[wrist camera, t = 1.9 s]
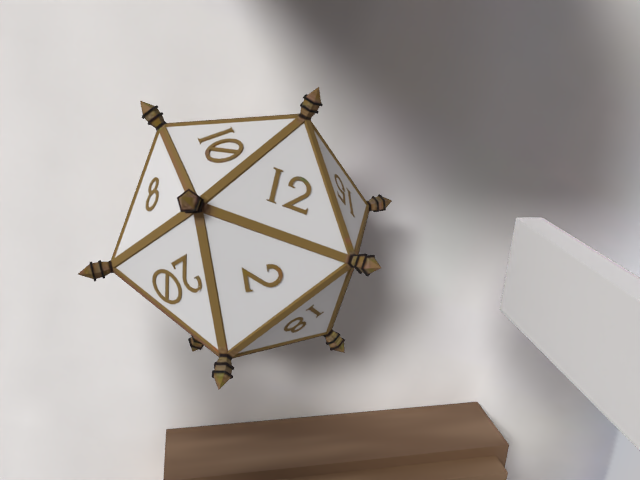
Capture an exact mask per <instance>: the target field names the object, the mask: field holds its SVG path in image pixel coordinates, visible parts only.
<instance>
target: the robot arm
mask: <svg viewBox="0 0 640 480" xmlns="http://www.w3.org/2000/svg"><path fill="white" fill-rule="evenodd" d="M500 311H501V312H502V313H503V314H504V315H505V316H506V317H507V318H508V319H509V320H510V321H511V322H512V323H513V324H514V325H515V326H516V327H517V328H518V329H519V330H520V331H521V332H522V333H523V334H524V335H525V336H526V337H527V338H528V339H529V340H530V341H531V342H532V343H533V344H534V345H535V346H536V347H537V348H538V349H539V350H540V351H541V352H542V353H543V354H544V355H545V356H546V357H547V358H548V359H549V360H550V361H551V362H552V363H553V364H554V365H555V366H556V367H557V368H558V369H559V370H560V371H561V372H562V373H563V374H564V375H565V376H566V377H567V378H568V379H569V380H570V381H571V382H572V383H573V384H574V385H575V386H576V387H577V388H578V389H579V390H580V391H581V392H582V393H583V394H584V395H585V396H586V397H587V398H588V399H589V400H590V401H591V402H592V403H593V404H594V405H595V406H596V407H597V408H598V409H599V410H600V411H601V412H602V413H603V414H604V415H605V416H606V417H607V418H608V419H609V420H610V421H611V422H612V423H613V424H614V426H615V427H616V428H617V429H618V430H619V431H620V432H621V433H622V434H623V435H625V437H626V438H627V439H628V440H629V441H631V443H632V444H633V445H634V446H635V447H636V448H637V449H638V450H639V451H640V278H639V277H638V276H636V275H634V274H633V273H631V272H630V271H628V270H626V269H625V268H623V267H622V266H620V265H618V264H617V263H615V262H613V261H612V260H610V259H609V258H607V257H605V256H604V255H602V254H601V253H599V252H597V251H596V250H594V249H592V248H591V247H589V246H588V245H586V244H584V243H583V242H581V241H580V240H578V239H576V238H575V237H573V236H571V235H570V234H568V233H567V232H565V231H563V230H562V229H560V228H559V227H557V226H555V225H554V224H552V223H550V222H549V221H547V220H546V219H544V218H542V217H528V218H516V220H515V226H514V231H513V237H512V243H511V248H510V254H509V259H508V265H507V271H506V276H505V282H504V287H503V293H502V299H501V304H500Z"/></svg>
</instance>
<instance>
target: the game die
mask: <svg viewBox="0 0 640 480" xmlns="http://www.w3.org/2000/svg"><path fill="white" fill-rule="evenodd" d="M303 98H304V102H302V103H301V105H300V106H301V113H300V114H290V115H276V116H262V117H248V118H234V119H220V120H206V121H192V122H177V123H166V122H165V121H164V119H163V116H162V115H163V113H160V112H159V110H158V109H157V108H158V106H153V105H150V104H148V103H145V102H142V101H140V102H141V107H142V113H143V115H142V118H143V119H144V118H145V119H146V120H147V121H148V125H150V124H151V125H152V126H153V127H155V128H156V130H157V132H156V135H155V138H154V140H153V143H152V146H151V149H150V152H149V155H148V157H147V160H146V163H145V166H144V169H143V171H142V174H141V177H140V180H139V183H138V186H137V188H136V191H135V194H134V197H133V200H132V202H131V205H130V208H129V211H128V214H127V217H126V219H125V222H124V225H123V228H122V231H121V233H120V236H119V239H118V242H117V245H116V248H115V250H114V253H113V256H112V259H111V261H109V262H101V260H100V261H98V262H97V263H92V262H90V264H89V265H88V266H87V267H86V268H85V269H83V270H82V271H81V272H80V273H79V275H82V276H85V277H88V278H92V279H94V281H96V279H97V278H100V277H103V278H105V276H106V275H108V274H109V273H115V274H116V275H117V276H119V277H120V278H121V279H122V280H124V281H125V282H126V283H127V284H129V285H130V286H131V287H132V288H134V289H135V290H136V291H137V292H139V293H140V294H141V295H142V296H143V297H145V298H146V299H147V300H148V301H150V302H151V303H152V304H153V305H155V306H156V307H157V308H158V309H160V310H161V311H162V312H163V313H165V314H166V315H167V316H168V317H170V318H171V319H172V320H173V321H175V322H176V323H177V324H178V325H180V326H181V327H182V328H183V329H185V330H186V331H187V332H188V333H190V334H191V336H192V337H191V338H189V339H188V340H189V343H190V346H191V348H192V352H193V351H196V350H198V349H200V350H201V349H202V347H203V346H204V345H205V346H206V347H207V348H208V349H210V350H211V351H212V352H213V353H214V354H216V355H217V356H218V357H219V359H218V361H217V362H215V364H214V369H215V370H213V371H212V377H213V378H214V379H215V381H216V384H217V387H218V389H220V388H221V387H222V386H223V385H224V384H225V383H226V382H227V381H228V380H229V379H231V378H233V375H231V373H232V370H233V369H234V367H233V366H232V363H231V360H232V358H236V357H240V356H244V355H248V354H252V353H256V352H260V351H264V350H268V349H272V348H276V347H279V346H283V345H287V344H291V343H295V342H299V341H303V340H307V339H311V338H315V337H319V336H324V337H325V338H326V341H327V342H326V344H327V345H329V346H330V350H336V351H340V352H344V341H345V339H343V338H341V337H340V334H339V333H337V332H334V331H333V330H332V328H333V325H334V322H335V320H336V317H337V314H338V311H339V309H340V306H341V303H342V300H343V298H344V295H345V292H346V289H347V287H348V284H349V281H350V278H351V276H352V273H353V270H354V268H355V269H356V270H357V271H358V272H359V273H360V274H361V273H362V272H363V273H365V275H366V276H369V275H370V273H372V272H374V271H376V270H378V269H380V268H381V267H380V265H379V264H378V263H377V261H376V260H375V255H368V256H367V254H359V250H360V246H361V242H362V238H363V234H364V230H365V226H366V222H367V218H368V214H369V211H373V212H378V211H383V210H386V209H385V208H386V207H387V206H388V205H389V204H390V202H391V200H389V199H386V198H384V197H382V196H381V195H380V194H379V195H378V197H374V196H373V197H372V199H370V200H369V201H366V200H365V199H364V197H363V196H362V194H361V193H360V192H359V190H358V189H357V187H356V186H355V184H354V183H353V181H352V180H351V178H350V177H349V176H348V174H347V173H346V171H345V170H344V168H343V167H342V165H341V164H340V162H339V161H338V160H337V158H336V157H335V155H334V154H333V152H332V151H331V149H330V148H329V146H328V145H327V144H326V142H325V141H324V139H323V138H322V136H321V135H320V133H319V132H318V130H317V129H316V128H315V126H314V125H313V123H312V122H311V117H312V116H313V115H314V114H315V113H317V114H318V111H317V110H318V108H319V106H322V105H323V104H322V103H321V100H320V92H319V87H318V88H317V89H315V90H314V91H312V92H311V93H310V94H308V95H307V94H306V95H305V96H304V97H303ZM344 353H345V352H344Z"/></svg>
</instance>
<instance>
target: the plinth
mask: <svg viewBox="0 0 640 480" xmlns="http://www.w3.org/2000/svg"><path fill="white" fill-rule="evenodd" d="M508 447H509V444H508V443H507V442H506V440H505V439H504V437H503V436H502V435H501V433H500V432H499V431H498V429H497V428H496V427H495V425H494V424H493V423H492V421H491V420H490V419H489V417H488V416H487V414H486V413H485V412H484V410H483V409H482V408H481V406H480V405H479V404H478V402H470V403H459V404H448V405H437V406H425V407H414V408H403V409H392V410H380V411H369V412H358V413H347V414H335V415H324V416H313V417H302V418H290V419H279V420H268V421H257V422H245V423H234V424H223V425H211V426H200V427H189V428H178V429H166V445H165V463H164V480H506V479H507V474H508V472H507V471H506V469H505V462H506V457H507V452H508Z"/></svg>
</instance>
